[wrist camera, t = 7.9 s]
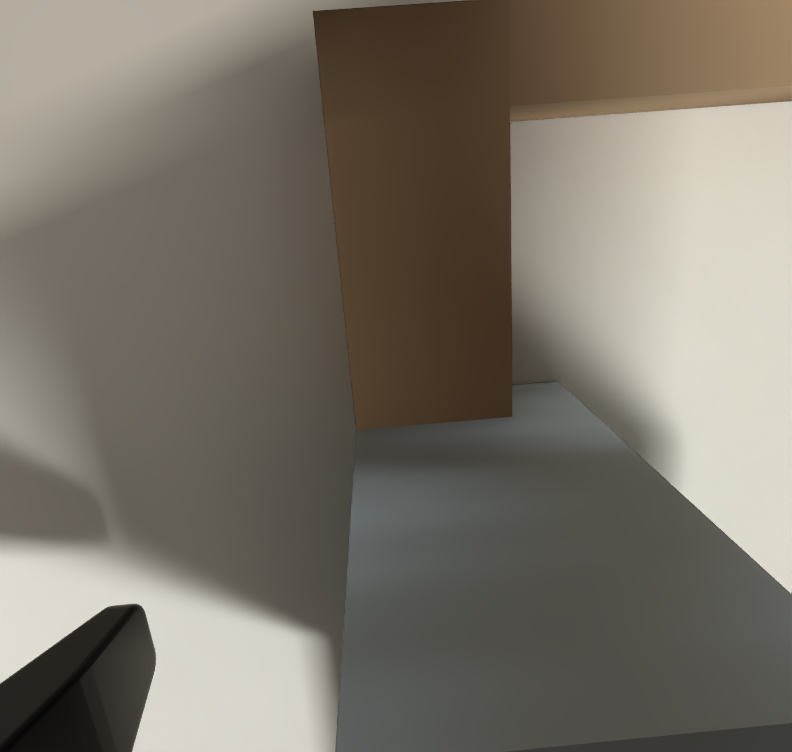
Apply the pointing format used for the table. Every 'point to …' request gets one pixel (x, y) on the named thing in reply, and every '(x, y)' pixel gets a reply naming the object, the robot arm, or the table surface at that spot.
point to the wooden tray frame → (522, 405)
